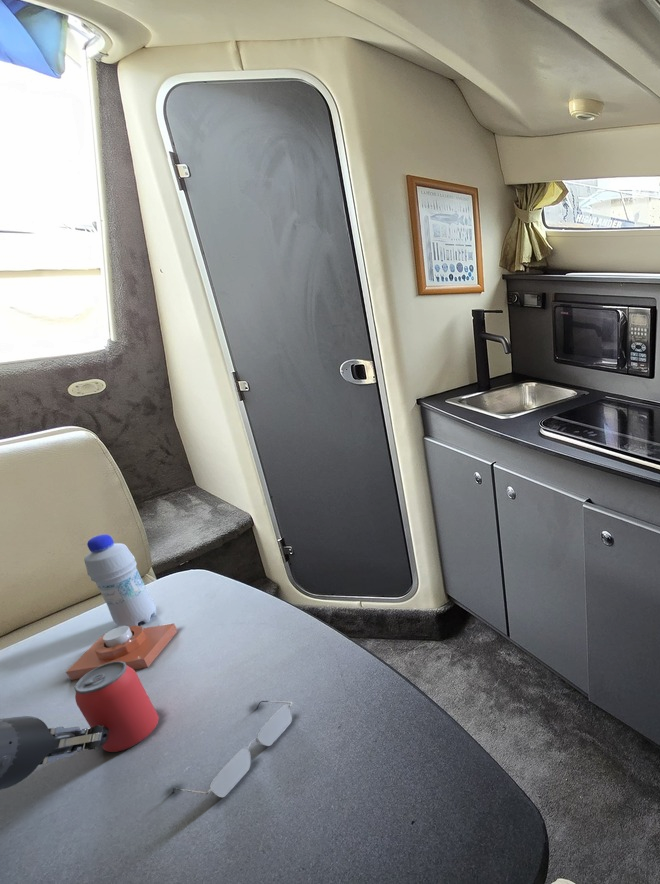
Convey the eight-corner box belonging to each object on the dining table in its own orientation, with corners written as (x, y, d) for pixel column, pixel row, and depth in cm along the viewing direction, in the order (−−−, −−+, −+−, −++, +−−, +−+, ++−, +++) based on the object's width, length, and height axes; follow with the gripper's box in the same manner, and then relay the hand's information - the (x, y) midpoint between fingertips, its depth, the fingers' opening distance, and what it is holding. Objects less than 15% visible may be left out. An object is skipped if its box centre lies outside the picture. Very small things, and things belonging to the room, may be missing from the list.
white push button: (101, 649, 88) (97, 641, 87) (115, 634, 91) (111, 627, 90) (124, 645, 88) (120, 638, 88) (137, 631, 92) (134, 624, 91)
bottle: (108, 630, 97) (63, 545, 90) (144, 607, 103) (105, 525, 96) (133, 635, 96) (89, 549, 88) (168, 611, 102) (130, 529, 94)
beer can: (104, 734, 76) (69, 676, 72) (158, 707, 80) (129, 650, 76) (104, 764, 72) (67, 703, 67) (162, 733, 76) (131, 675, 71)
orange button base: (71, 681, 86) (60, 664, 84) (108, 643, 94) (99, 626, 93) (148, 668, 88) (140, 651, 86) (178, 632, 96) (170, 615, 95)
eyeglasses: (216, 809, 65) (204, 788, 64) (171, 798, 67) (159, 778, 66) (299, 716, 77) (290, 697, 76) (259, 709, 80) (250, 691, 78)
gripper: (52, 708, 58) (158, 698, 73) (-84, 732, 55) (55, 716, 71) (33, 784, 55) (148, 757, 70) (-111, 812, 52) (40, 777, 68)
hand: (101, 736), depth 71 cm, fingers closed
